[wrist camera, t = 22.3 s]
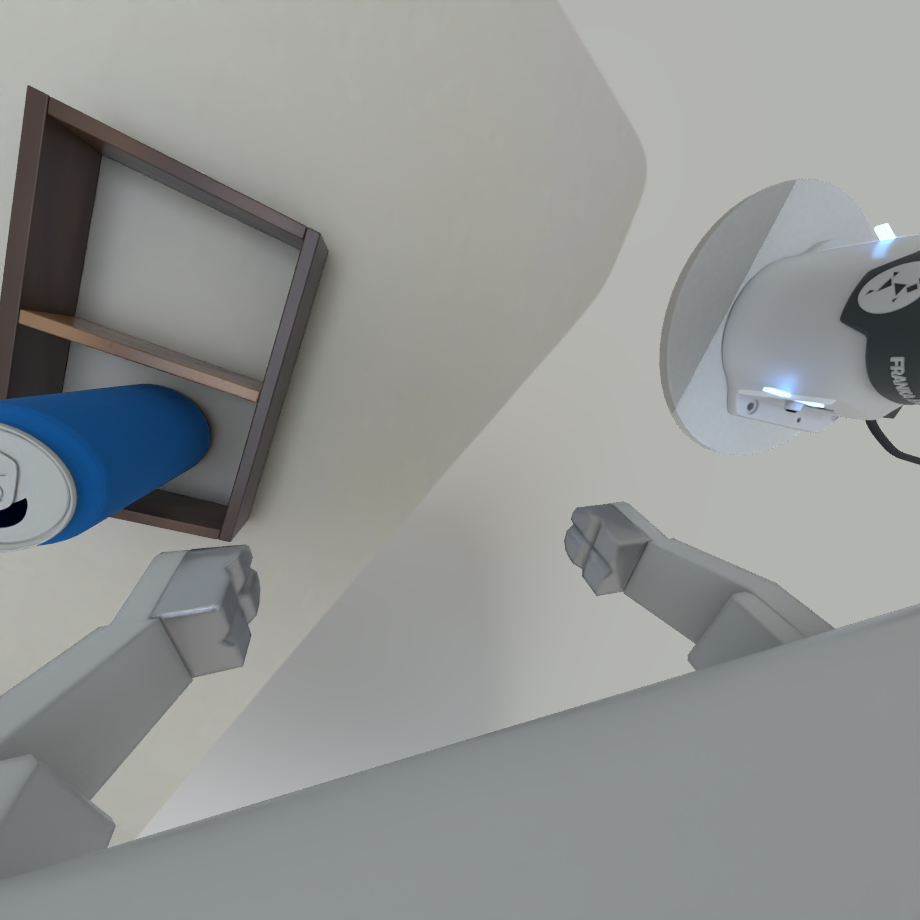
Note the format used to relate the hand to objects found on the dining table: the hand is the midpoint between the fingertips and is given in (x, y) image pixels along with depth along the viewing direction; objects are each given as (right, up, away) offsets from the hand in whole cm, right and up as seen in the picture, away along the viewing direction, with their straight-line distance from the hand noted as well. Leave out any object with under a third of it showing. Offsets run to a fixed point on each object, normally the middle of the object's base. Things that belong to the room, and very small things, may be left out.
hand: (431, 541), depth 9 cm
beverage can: (-21, +4, +16) cm, 27 cm away
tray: (-19, +9, +15) cm, 26 cm away
